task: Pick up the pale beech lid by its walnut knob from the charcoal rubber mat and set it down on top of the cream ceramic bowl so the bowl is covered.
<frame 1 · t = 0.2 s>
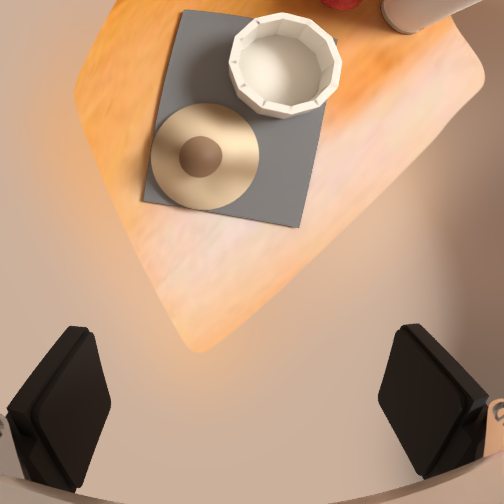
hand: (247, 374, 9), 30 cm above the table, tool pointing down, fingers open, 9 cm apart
mat: (240, 111, 35), on the table
lid: (204, 156, 35), point 1 cm above the table, touching mat
travel mug: (400, 16, 31), on the table
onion: (330, 1, 31), on the table
bowl: (279, 72, 33), resting on mat
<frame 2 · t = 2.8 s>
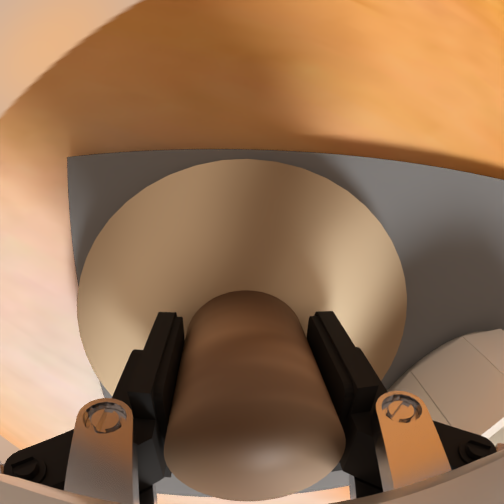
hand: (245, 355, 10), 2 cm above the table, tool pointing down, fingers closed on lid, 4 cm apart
mat: (368, 372, 14), on the table
lid: (243, 329, 12), point 1 cm above the table, touching gripper, mat
bowl: (443, 409, 14), resting on mat
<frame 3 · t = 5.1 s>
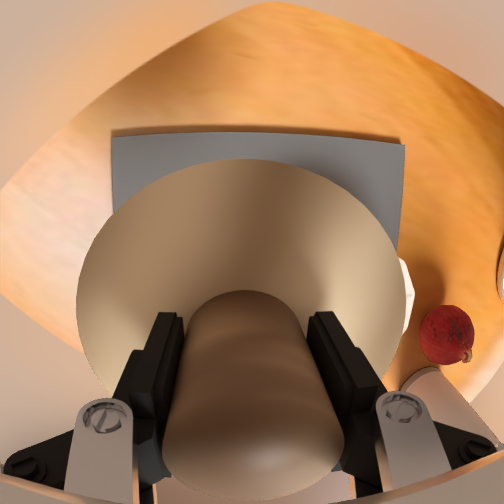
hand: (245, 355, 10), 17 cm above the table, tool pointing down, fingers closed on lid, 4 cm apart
mat: (262, 248, 27), on the table
lid: (242, 329, 12), point 15 cm above the table, touching gripper
travel mug: (418, 386, 34), on the table
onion: (427, 317, 31), on the table
bowl: (326, 287, 28), resting on mat
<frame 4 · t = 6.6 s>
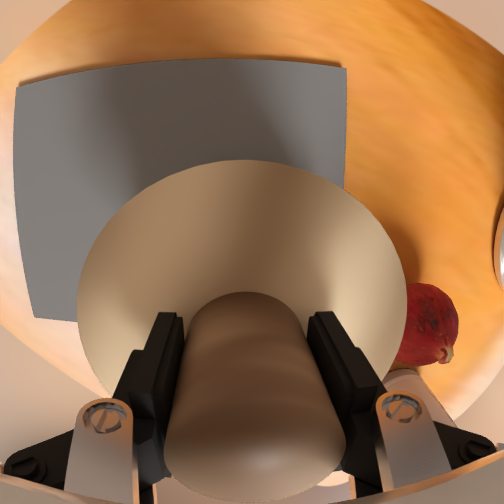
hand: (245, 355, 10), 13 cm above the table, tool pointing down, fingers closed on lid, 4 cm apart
mat: (161, 198, 21), on the table
lid: (243, 330, 12), point 11 cm above the table, touching gripper
travel mug: (391, 392, 27), on the table
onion: (397, 302, 24), on the table
when the fingers open (9 cm above the table, at t = 7.5 s): lid drops 1 cm, resting on bowl.
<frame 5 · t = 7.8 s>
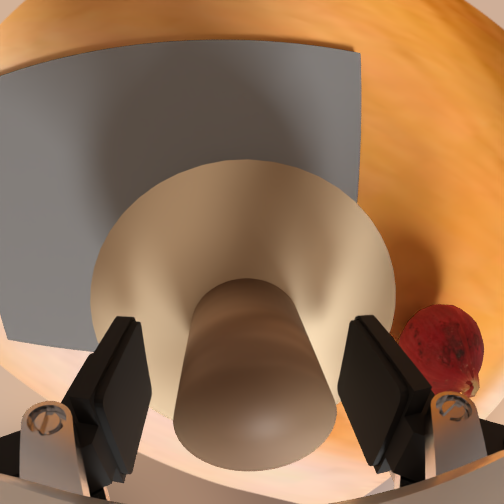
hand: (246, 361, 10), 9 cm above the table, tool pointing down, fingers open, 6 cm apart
mat: (140, 208, 17), on the table
lid: (244, 316, 13), point 6 cm above the table, touching bowl
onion: (412, 322, 21), on the table
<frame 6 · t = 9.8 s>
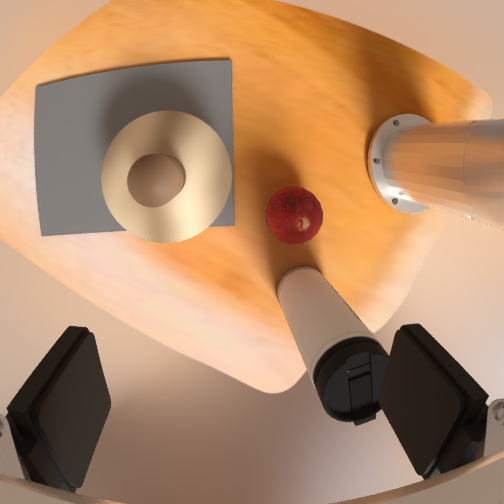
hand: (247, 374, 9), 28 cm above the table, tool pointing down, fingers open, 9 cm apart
mat: (125, 148, 33), on the table
lid: (165, 176, 28), point 6 cm above the table, touching bowl
travel mug: (301, 290, 40), on the table
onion: (286, 209, 37), on the table
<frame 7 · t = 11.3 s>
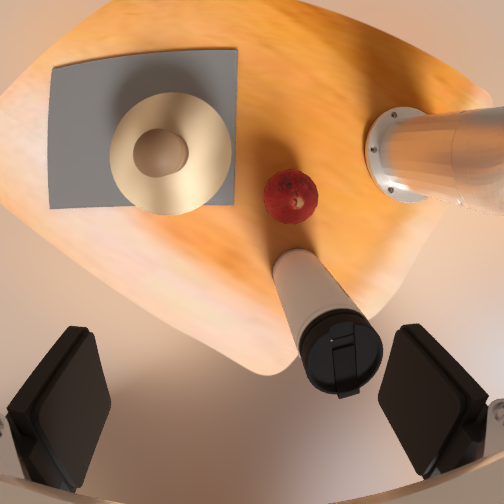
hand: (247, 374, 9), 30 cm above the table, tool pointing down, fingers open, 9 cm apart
mat: (133, 128, 34), on the table
lid: (169, 153, 30), point 6 cm above the table, touching bowl
travel mug: (296, 272, 41), on the table
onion: (285, 192, 38), on the table
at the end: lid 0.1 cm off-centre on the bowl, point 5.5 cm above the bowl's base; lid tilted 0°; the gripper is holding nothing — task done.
